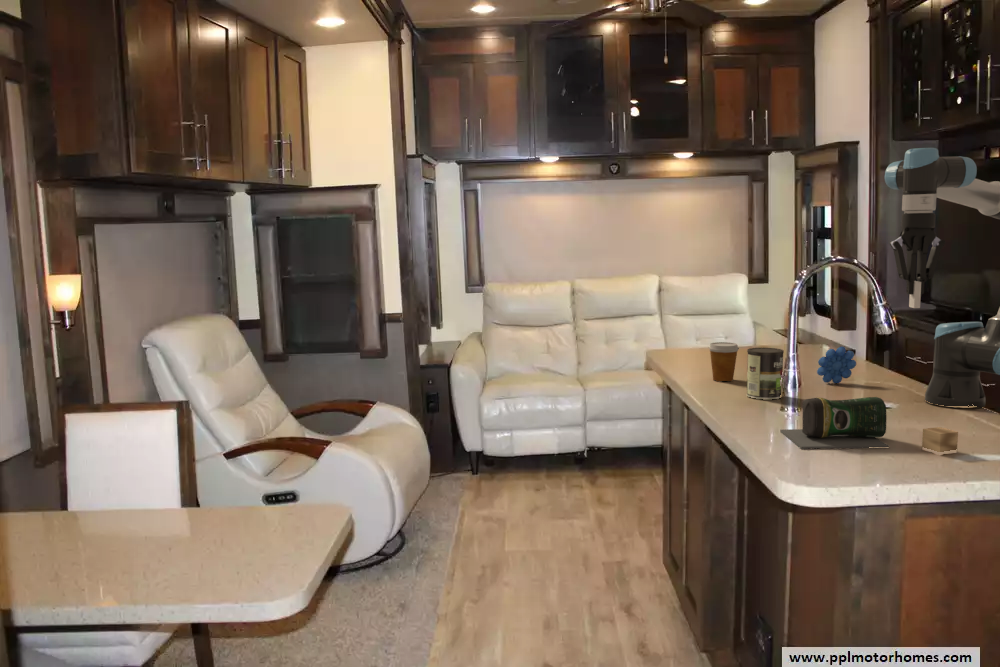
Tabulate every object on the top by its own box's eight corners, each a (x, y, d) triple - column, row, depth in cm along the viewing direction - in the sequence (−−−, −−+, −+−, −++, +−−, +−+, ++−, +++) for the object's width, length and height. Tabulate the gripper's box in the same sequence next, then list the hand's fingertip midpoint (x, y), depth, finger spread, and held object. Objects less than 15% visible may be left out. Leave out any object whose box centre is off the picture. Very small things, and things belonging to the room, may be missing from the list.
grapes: (852, 381, 275) (854, 344, 273) (857, 385, 268) (858, 347, 267) (814, 380, 277) (815, 344, 276) (817, 384, 271) (819, 347, 269)
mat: (861, 431, 213) (861, 428, 213) (888, 448, 197) (889, 445, 197) (780, 431, 213) (780, 429, 213) (801, 449, 197) (801, 446, 197)
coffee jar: (874, 395, 208) (798, 395, 209) (888, 399, 200) (808, 399, 201) (874, 434, 209) (797, 434, 209) (888, 440, 201) (808, 440, 201)
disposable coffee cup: (744, 380, 280) (745, 344, 278) (725, 384, 274) (726, 347, 272) (720, 376, 287) (721, 341, 286) (702, 380, 281) (702, 343, 280)
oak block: (939, 448, 197) (940, 426, 196) (956, 453, 192) (958, 431, 192) (921, 450, 195) (922, 428, 195) (939, 455, 191) (940, 433, 190)
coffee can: (787, 395, 256) (788, 348, 254) (775, 401, 247) (776, 353, 246) (753, 391, 262) (754, 346, 260) (740, 397, 254) (741, 350, 252)
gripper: (899, 212, 207) (895, 309, 210) (953, 211, 207) (948, 308, 210) (885, 212, 214) (881, 306, 218) (937, 211, 214) (933, 305, 218)
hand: (914, 307), depth 214 cm, fingers closed
